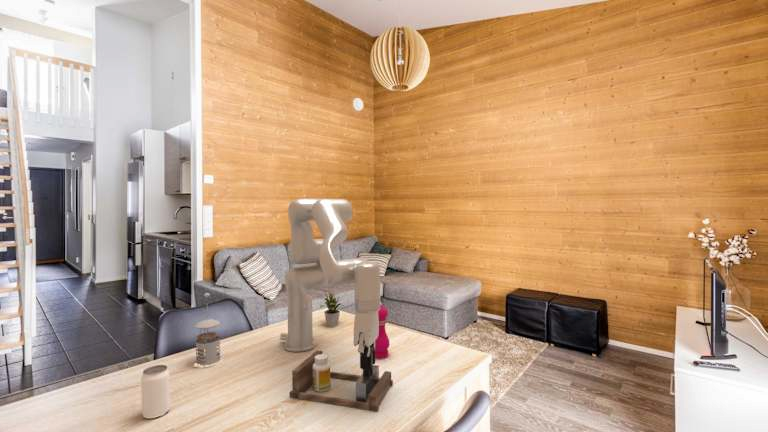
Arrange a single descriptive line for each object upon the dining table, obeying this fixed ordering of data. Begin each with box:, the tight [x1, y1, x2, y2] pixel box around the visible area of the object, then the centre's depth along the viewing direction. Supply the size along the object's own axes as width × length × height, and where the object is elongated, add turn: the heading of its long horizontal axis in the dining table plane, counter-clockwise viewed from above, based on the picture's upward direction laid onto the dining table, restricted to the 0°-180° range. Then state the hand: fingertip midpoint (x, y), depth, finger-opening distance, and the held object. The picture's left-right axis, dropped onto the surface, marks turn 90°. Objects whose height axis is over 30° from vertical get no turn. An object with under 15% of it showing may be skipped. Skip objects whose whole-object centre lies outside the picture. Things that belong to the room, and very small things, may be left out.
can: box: [140, 364, 171, 417], centre depth 101 cm, size 6×6×12 cm
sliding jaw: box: [355, 346, 380, 403], centre depth 110 cm, size 3×12×14 cm, turn 163°
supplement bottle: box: [312, 353, 331, 393], centre depth 114 cm, size 5×5×10 cm
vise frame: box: [288, 350, 394, 413], centre depth 112 cm, size 27×16×8 cm, turn 73°
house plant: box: [318, 290, 347, 328], centre depth 173 cm, size 14×14×16 cm
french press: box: [194, 292, 222, 366], centre depth 134 cm, size 10×12×25 cm
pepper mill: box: [374, 301, 390, 360], centre depth 138 cm, size 7×7×20 cm
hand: (367, 365), depth 110 cm, fingers closed on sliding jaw, 3 cm apart
